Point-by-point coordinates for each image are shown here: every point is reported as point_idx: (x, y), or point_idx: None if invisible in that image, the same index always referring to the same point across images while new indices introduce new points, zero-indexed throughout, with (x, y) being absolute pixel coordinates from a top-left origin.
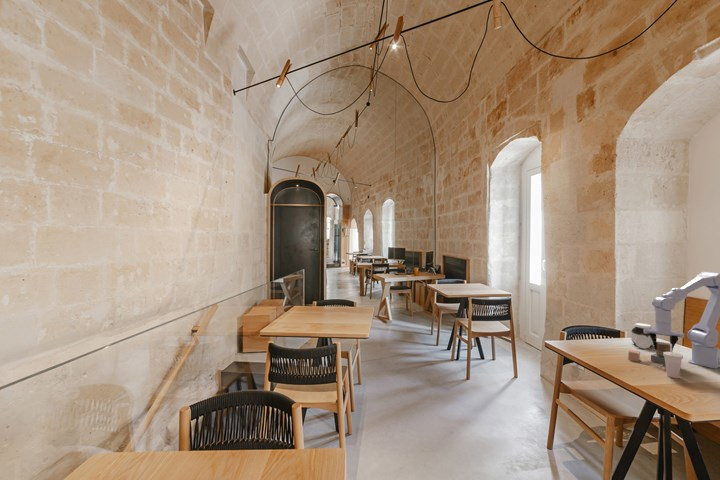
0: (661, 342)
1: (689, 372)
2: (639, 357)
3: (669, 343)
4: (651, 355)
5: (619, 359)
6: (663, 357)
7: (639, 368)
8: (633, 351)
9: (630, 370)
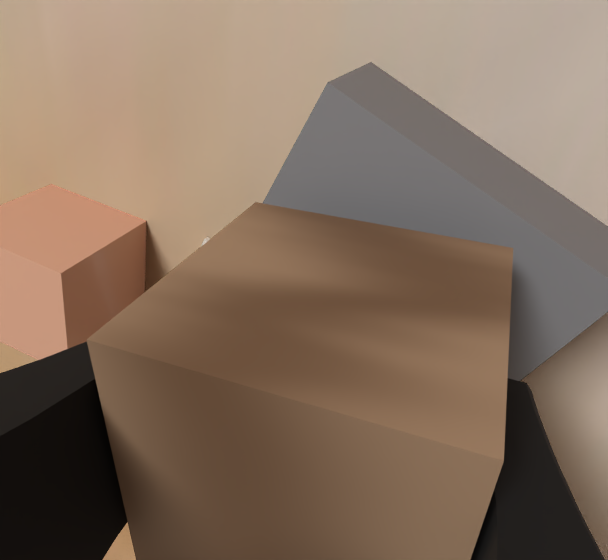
0: (232, 429)
1: (600, 544)
2: (119, 278)
3: (485, 495)
4: None
5: None
6: None
7: None
8: (4, 297)
9: (119, 533)
